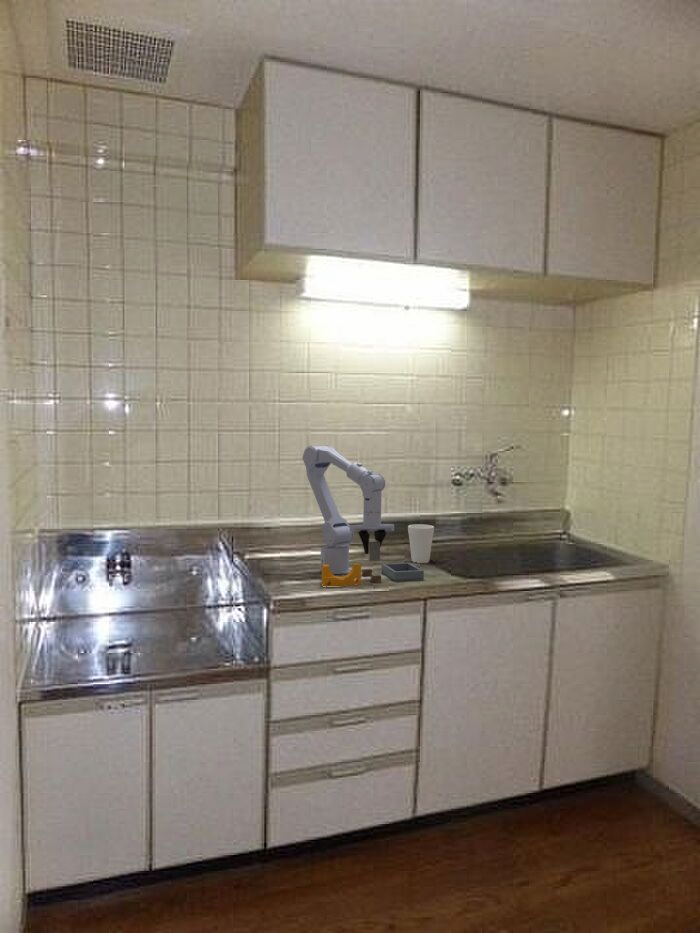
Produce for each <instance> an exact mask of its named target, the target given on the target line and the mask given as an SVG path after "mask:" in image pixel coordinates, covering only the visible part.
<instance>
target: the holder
mask: <svg viewBox="0 0 700 933" xmlns="http://www.w3.org/2000/svg"><path fill="white" fill-rule="evenodd" d="M361 576H362V577H370V582H371V583H372V584H374V583H375V584H377V583H378V582H379V583H382V575H380V574H379V575H378V574H377V575H373V569H372V568H364V569H363V568H361Z"/></svg>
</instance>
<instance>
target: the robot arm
mask: <svg viewBox="0 0 700 933" xmlns="http://www.w3.org/2000/svg"><path fill="white" fill-rule="evenodd" d="M302 461H303V464H304V466H305V469H306V471H305V472H306V476H307V479H308V482H309V485H310V486H311V490H312V491H313V494H314V497H315V500H316V503H317V505H318V508H319V510H320V513H321V515H322V518H323V521H324V523H323V524H322V526H321V530H322V538H323V541H324V543H325V544H326V546H322V547H320V568H319V570H320V572H322V565H326V564H328V565H329V567H330V571H331V573H332V574H333V575H345V574H346V575H347V574H348V573H349V572H350V571H351V570H352V569H351V570H350V546H351V543H352V542H353V540H354V537H355V533H356V532H357V534H358V536H359V538H360V541H361V542H362V546H363V551H364V552H365V554H368V552H369V539H370V533H369V532H373V534H374V539H375V540H377V541H379V542H380V548H381V546H382V543H383V542H384V539H385V537H386V535H387V531H391V532H394V531H395V524H393V523H382V491H384V489H385V487H386V480H385V477H384V476H382V475H381V474H380V473H373V471H372V470H368V468H365V467H364V466H363V463H361V462H353V463H352V462H351V461H349V460H348V459H347V458H345V457H344V456H342V455H341V454H340V453H338V452H337V451H336V448H334V447H332V446H330V445H315V446H313V445H309V446H307V447H306V448H305V449H304V451H303V454H302ZM331 464H332V465H334V466H335V467H337V468H338V469H340V470H342V471H344V472H345V474H346V477H347V478H348V479H349V480H351V481H352V482H354V483H355V484H356V485H358V486H359V488H360V490H361V492H362V498H363V511H362V513H363V516H362V517H363V519H362V520H363V521H362V522H363V524H354V525H351V524H349V523H348V520H347V519H346V518H344V517H343V516H341V515H340V512H339V510H338V508H337V505H336V502H335V500H334V497H333V495H332V492H331V490H330V488H329V485H328V483H327V480H326V478H325V473H326V471H327V470H328V469H329V468H330V465H331Z"/></svg>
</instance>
